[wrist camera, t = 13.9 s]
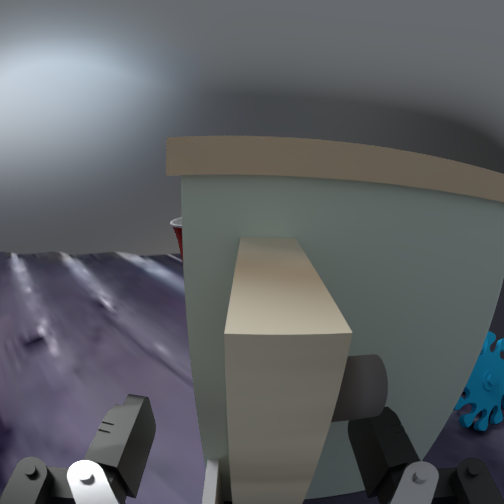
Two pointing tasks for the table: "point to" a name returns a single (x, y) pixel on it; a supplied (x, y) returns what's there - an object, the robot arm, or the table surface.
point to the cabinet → (344, 271)
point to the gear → (485, 387)
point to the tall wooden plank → (287, 372)
